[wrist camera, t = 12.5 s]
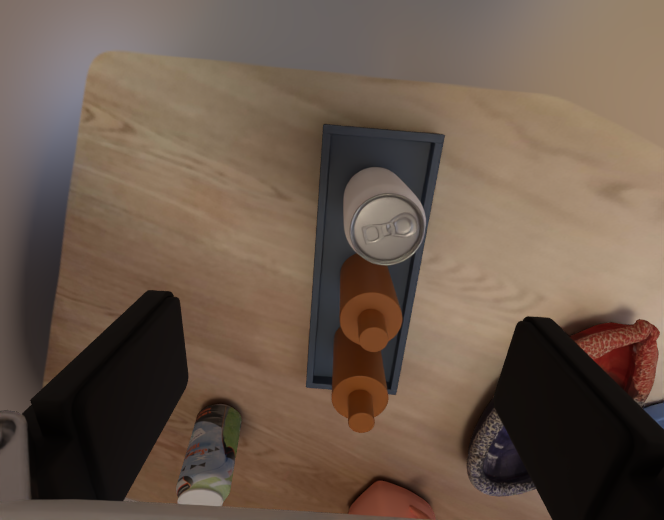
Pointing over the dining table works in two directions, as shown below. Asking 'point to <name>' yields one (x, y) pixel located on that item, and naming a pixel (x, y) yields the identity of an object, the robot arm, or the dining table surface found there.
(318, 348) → the tray
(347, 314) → the amber bottle
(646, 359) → the dish
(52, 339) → the dining table surface
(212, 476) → the beverage can
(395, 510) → the teapot
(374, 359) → the amber bottle
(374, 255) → the can
